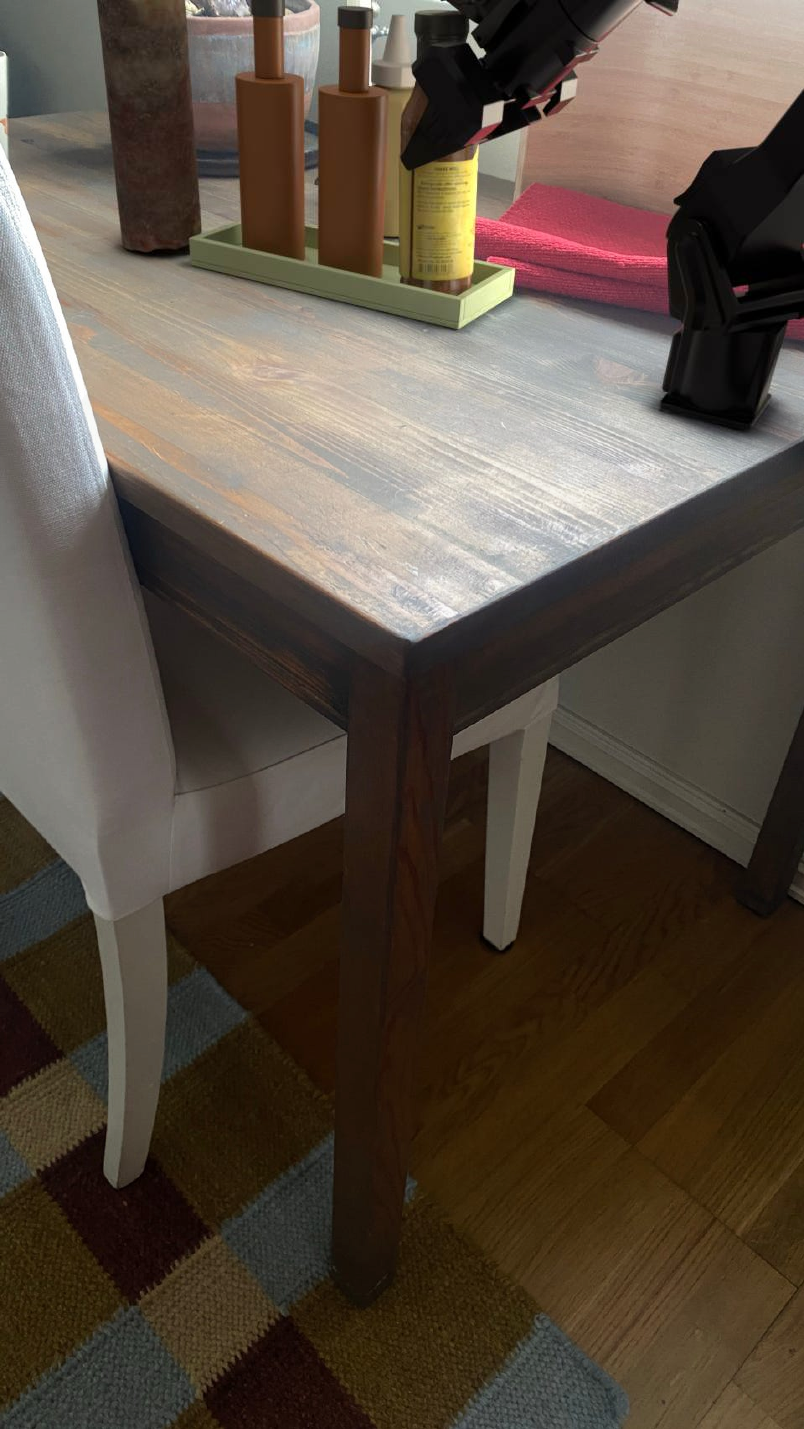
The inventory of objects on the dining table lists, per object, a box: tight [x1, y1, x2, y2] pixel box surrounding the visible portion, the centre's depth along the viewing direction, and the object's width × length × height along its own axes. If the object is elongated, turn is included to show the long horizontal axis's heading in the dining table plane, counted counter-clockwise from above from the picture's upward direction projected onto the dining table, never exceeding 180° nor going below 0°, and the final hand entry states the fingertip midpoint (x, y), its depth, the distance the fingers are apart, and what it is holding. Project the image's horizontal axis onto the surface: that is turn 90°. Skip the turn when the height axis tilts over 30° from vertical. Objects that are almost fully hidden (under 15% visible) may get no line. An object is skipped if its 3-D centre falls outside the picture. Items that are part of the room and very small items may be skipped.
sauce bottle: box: [398, 9, 480, 296], centre depth 82 cm, size 7×6×20 cm
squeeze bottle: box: [370, 13, 416, 238], centre depth 98 cm, size 8×8×18 cm
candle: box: [96, 0, 203, 253], centre depth 90 cm, size 8×7×20 cm
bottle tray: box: [188, 0, 516, 330], centre depth 85 cm, size 27×11×20 cm, turn 61°
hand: (424, 158), depth 82 cm, fingers closed on sauce bottle, 6 cm apart
